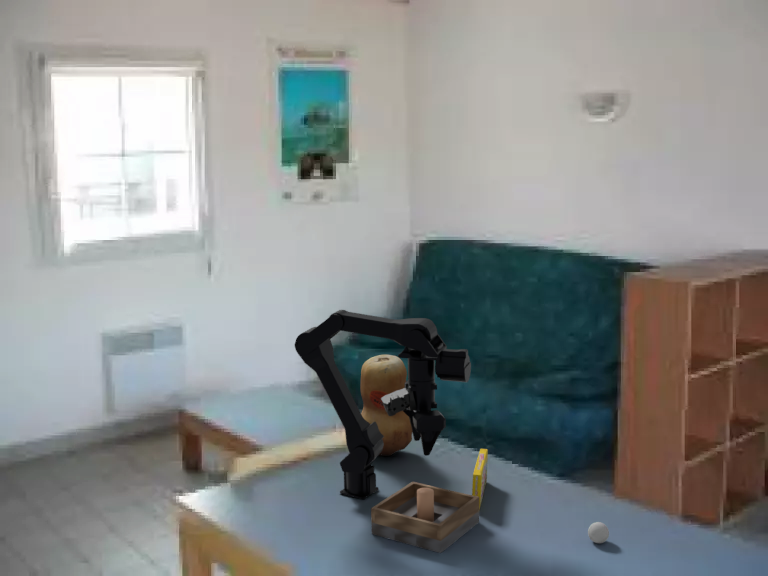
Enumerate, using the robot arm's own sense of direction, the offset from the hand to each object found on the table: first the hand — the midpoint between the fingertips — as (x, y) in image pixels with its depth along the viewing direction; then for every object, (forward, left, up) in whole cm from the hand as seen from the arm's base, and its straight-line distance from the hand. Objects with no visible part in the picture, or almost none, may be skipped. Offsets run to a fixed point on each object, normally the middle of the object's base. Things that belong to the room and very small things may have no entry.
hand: (421, 447), depth 197 cm
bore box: (+8, -12, -12) cm, 18 cm away
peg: (+8, -12, -12) cm, 18 cm away
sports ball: (+40, 0, -12) cm, 42 cm away
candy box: (+10, +8, -12) cm, 18 cm away
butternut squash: (-22, +19, -12) cm, 32 cm away
